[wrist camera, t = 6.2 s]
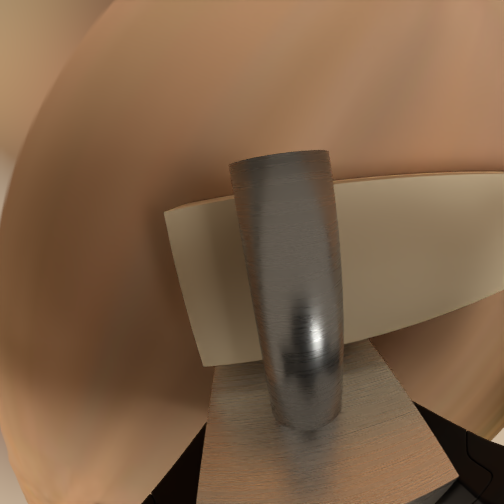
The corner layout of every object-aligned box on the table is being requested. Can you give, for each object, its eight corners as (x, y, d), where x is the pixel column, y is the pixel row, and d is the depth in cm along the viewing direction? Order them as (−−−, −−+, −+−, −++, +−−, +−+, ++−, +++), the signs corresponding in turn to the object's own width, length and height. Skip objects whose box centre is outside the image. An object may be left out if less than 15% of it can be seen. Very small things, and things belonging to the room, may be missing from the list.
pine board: (519, 252, 8) (550, 264, 6) (212, 325, 8) (203, 366, 6) (520, 172, 7) (553, 175, 5) (185, 203, 7) (163, 211, 5)
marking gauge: (348, 404, 9) (399, 536, 3) (243, 423, 9) (243, 567, 3) (338, 160, 7) (550, 135, 1) (186, 183, 7) (-10, 199, 1)
